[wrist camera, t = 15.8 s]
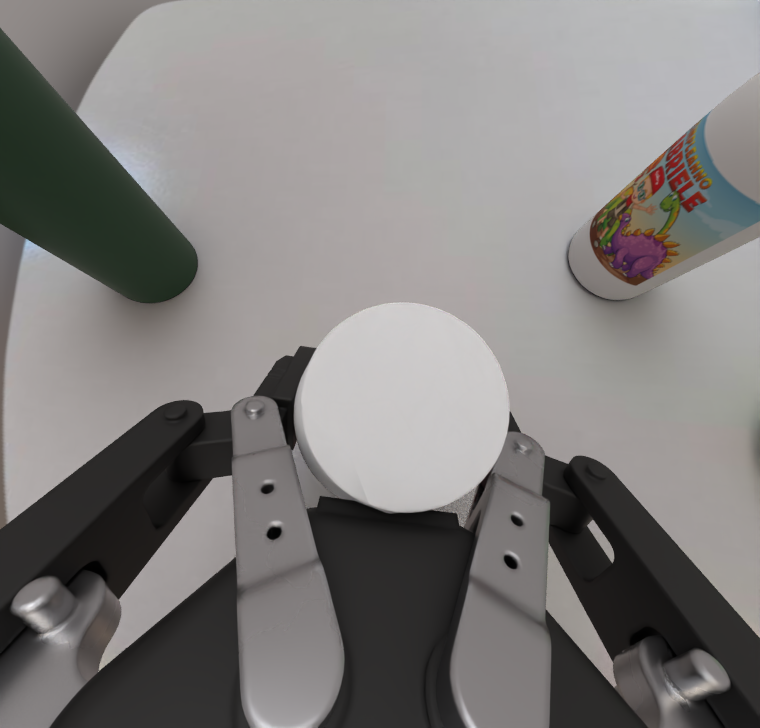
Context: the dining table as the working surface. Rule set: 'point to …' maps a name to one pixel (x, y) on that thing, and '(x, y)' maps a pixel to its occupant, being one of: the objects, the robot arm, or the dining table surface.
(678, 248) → the milk bottle
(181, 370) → the dining table surface
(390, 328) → the pill bottle
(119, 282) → the bottle
